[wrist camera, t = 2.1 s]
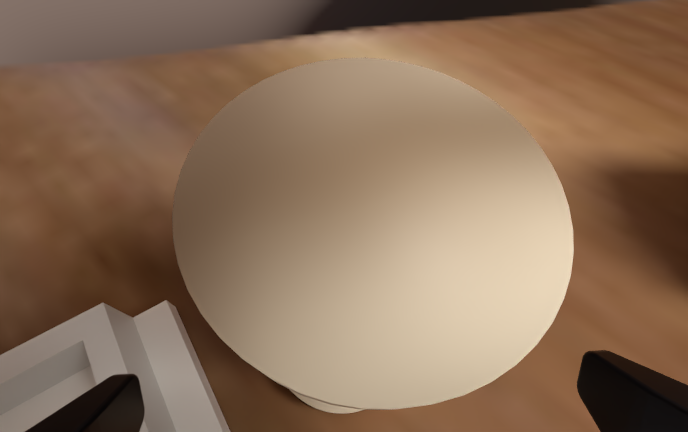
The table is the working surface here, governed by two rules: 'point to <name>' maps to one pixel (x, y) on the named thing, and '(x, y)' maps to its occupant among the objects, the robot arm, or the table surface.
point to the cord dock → (110, 370)
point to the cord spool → (372, 234)
